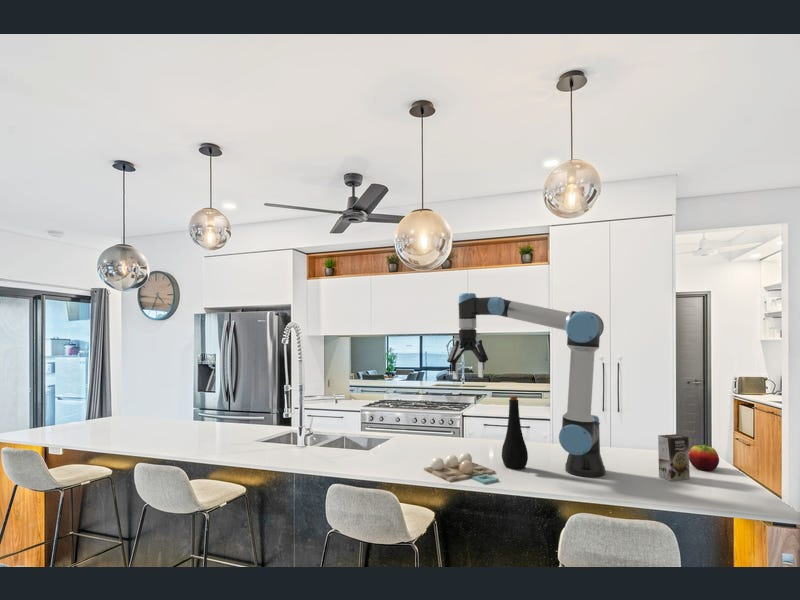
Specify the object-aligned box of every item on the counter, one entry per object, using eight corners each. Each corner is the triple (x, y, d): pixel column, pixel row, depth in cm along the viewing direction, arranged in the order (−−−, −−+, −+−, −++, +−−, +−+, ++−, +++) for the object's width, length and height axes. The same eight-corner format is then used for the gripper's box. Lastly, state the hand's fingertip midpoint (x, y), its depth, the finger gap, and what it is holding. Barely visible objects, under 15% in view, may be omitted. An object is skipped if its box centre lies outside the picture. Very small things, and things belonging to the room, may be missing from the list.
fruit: (719, 467, 205) (718, 443, 206) (720, 474, 196) (719, 448, 197) (689, 464, 211) (688, 440, 211) (688, 470, 202) (688, 445, 202)
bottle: (496, 467, 208) (495, 395, 209) (518, 464, 211) (517, 393, 213) (511, 474, 198) (509, 398, 199) (533, 471, 201) (532, 397, 203)
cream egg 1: (447, 471, 198) (446, 457, 198) (435, 473, 195) (435, 459, 195) (439, 468, 203) (439, 454, 203) (428, 470, 200) (427, 456, 200)
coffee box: (671, 481, 187) (670, 438, 188) (658, 476, 194) (657, 434, 194) (690, 479, 190) (689, 436, 191) (677, 474, 196) (675, 433, 197)
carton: (467, 465, 211) (467, 460, 211) (495, 476, 195) (495, 470, 196) (423, 472, 200) (423, 467, 200) (449, 485, 185) (449, 479, 185)
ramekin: (498, 484, 185) (498, 478, 185) (484, 487, 182) (484, 481, 182) (486, 479, 191) (486, 474, 192) (472, 482, 188) (472, 476, 188)
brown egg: (476, 475, 193) (476, 461, 193) (465, 477, 190) (465, 463, 190) (468, 471, 197) (467, 457, 198) (456, 474, 195) (456, 459, 195)
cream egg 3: (475, 466, 205) (474, 453, 205) (464, 468, 202) (464, 454, 202) (466, 463, 209) (466, 450, 210) (456, 465, 207) (456, 452, 207)
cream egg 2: (461, 469, 201) (461, 455, 202) (450, 471, 199) (450, 457, 199) (453, 465, 206) (453, 452, 206) (442, 467, 203) (442, 454, 204)
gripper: (484, 328, 224) (485, 375, 223) (438, 329, 212) (439, 379, 211) (495, 328, 217) (496, 377, 216) (448, 329, 205) (449, 380, 204)
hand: (468, 378), depth 214 cm, fingers open, 13 cm apart
